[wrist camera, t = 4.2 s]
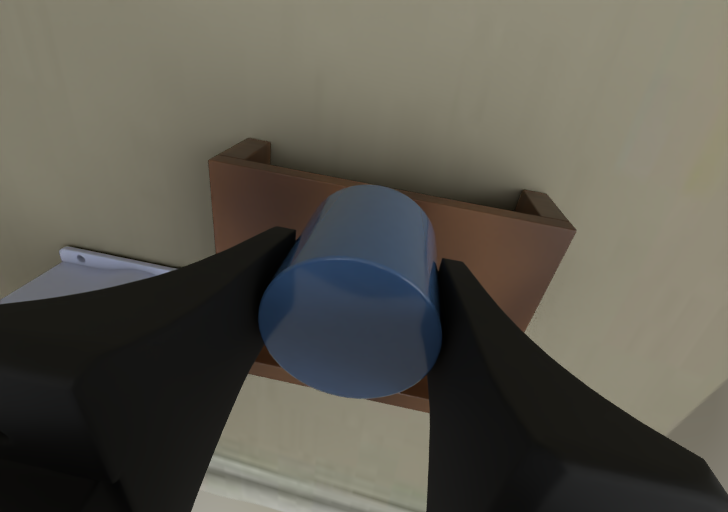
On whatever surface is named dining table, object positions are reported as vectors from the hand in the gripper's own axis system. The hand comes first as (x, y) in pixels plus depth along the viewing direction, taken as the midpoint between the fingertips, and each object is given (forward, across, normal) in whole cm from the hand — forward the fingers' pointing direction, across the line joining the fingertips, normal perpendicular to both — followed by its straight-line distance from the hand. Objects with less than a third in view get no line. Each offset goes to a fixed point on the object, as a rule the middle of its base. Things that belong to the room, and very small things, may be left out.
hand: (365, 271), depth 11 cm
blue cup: (+2, 0, 0) cm, 2 cm away
